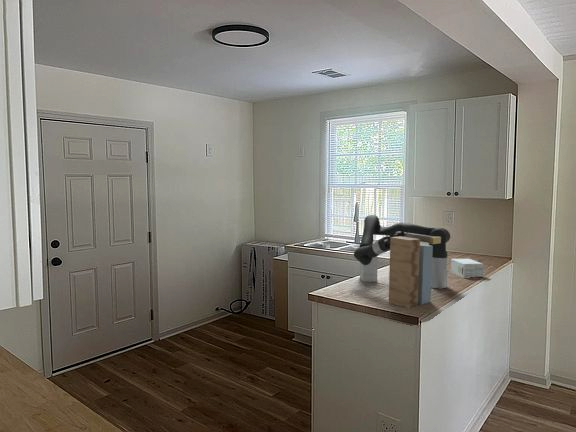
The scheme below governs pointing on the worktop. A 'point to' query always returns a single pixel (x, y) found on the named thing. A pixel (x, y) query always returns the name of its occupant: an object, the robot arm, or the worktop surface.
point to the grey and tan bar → (423, 238)
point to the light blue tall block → (425, 274)
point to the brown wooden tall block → (404, 271)
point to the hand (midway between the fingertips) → (406, 232)
